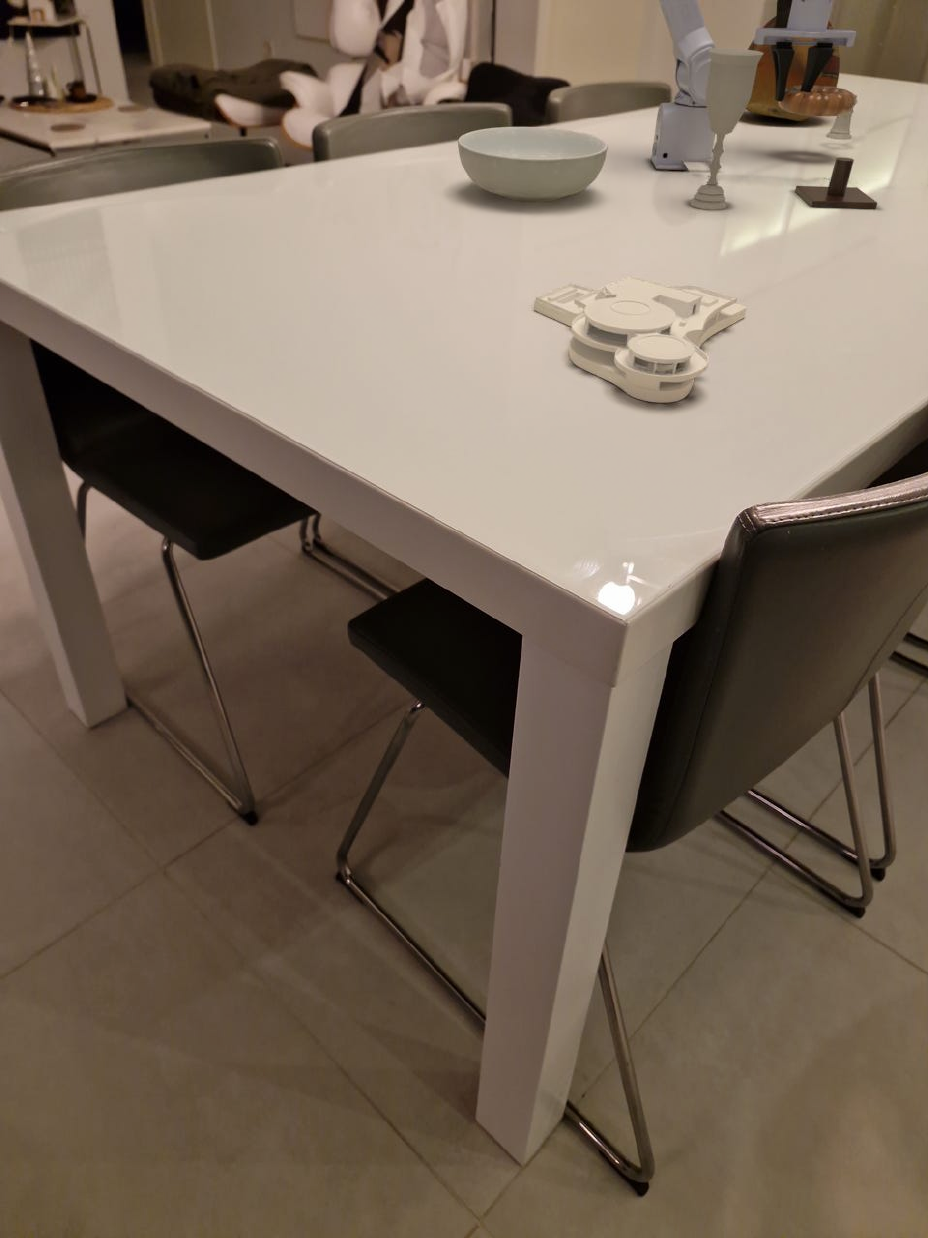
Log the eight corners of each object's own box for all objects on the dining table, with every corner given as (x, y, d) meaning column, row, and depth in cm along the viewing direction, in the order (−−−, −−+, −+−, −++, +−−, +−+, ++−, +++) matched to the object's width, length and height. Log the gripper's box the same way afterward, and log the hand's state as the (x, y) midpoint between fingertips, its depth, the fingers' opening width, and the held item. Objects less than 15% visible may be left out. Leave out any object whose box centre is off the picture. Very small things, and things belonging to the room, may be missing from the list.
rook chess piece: (845, 144, 156) (859, 93, 151) (852, 149, 153) (866, 97, 148) (820, 143, 157) (833, 92, 152) (826, 148, 153) (839, 96, 148)
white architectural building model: (805, 332, 83) (818, 285, 80) (669, 416, 68) (679, 361, 65) (609, 279, 94) (615, 236, 92) (457, 340, 80) (457, 291, 77)
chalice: (734, 213, 117) (765, 56, 106) (683, 209, 118) (709, 53, 107) (732, 199, 123) (761, 49, 111) (683, 196, 124) (708, 47, 112)
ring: (787, 116, 131) (792, 93, 129) (769, 104, 140) (774, 83, 138) (861, 118, 131) (867, 95, 129) (838, 106, 140) (844, 84, 138)
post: (811, 206, 121) (821, 165, 117) (794, 191, 128) (804, 151, 124) (875, 208, 120) (888, 166, 117) (855, 193, 127) (866, 153, 124)
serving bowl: (431, 200, 120) (430, 144, 116) (496, 171, 134) (498, 121, 130) (569, 221, 113) (574, 163, 108) (623, 188, 127) (629, 136, 123)
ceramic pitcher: (838, 117, 179) (885, -67, 160) (813, 132, 165) (861, -67, 146) (746, 107, 186) (780, -70, 168) (715, 120, 173) (748, -70, 154)
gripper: (771, -7, 123) (749, 103, 132) (873, -4, 123) (844, 105, 131) (759, -10, 128) (739, 96, 137) (857, -7, 128) (831, 98, 137)
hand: (790, 100), depth 135 cm, fingers closed on ring, 3 cm apart
